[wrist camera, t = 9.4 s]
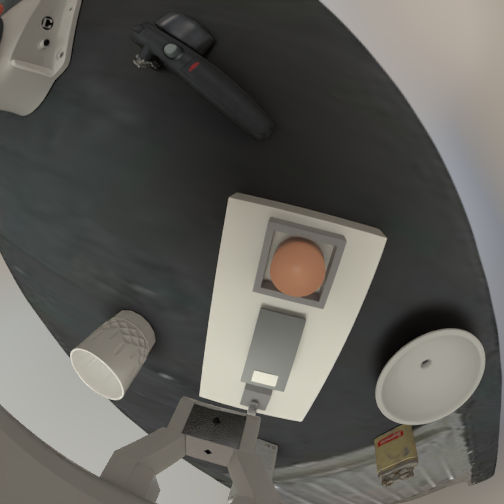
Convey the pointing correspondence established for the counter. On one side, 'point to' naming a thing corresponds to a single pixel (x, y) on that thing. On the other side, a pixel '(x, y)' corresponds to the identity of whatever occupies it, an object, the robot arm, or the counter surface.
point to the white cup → (114, 354)
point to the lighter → (396, 455)
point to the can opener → (198, 69)
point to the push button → (297, 267)
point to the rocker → (273, 349)
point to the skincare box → (268, 459)
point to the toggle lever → (252, 408)
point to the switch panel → (283, 300)
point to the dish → (430, 376)
